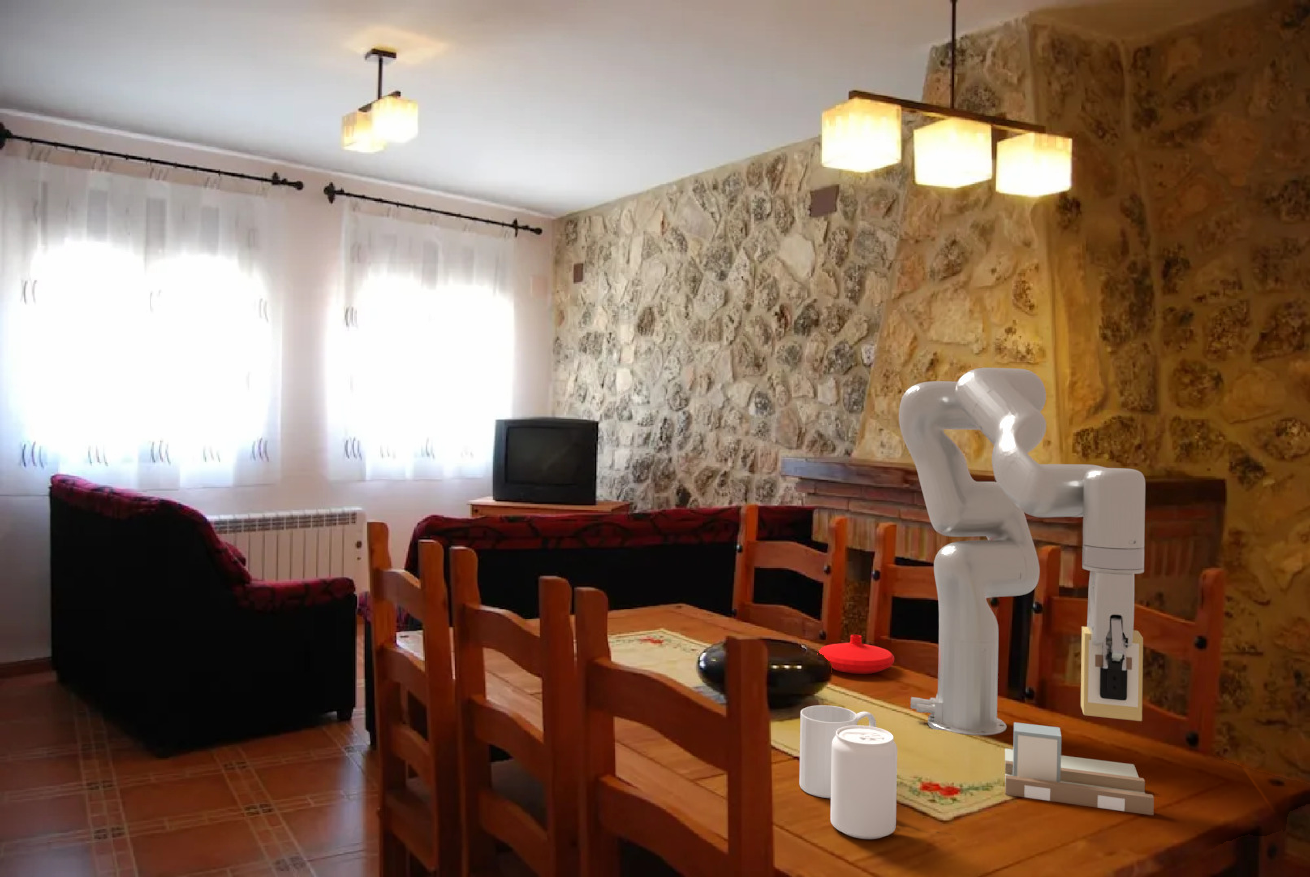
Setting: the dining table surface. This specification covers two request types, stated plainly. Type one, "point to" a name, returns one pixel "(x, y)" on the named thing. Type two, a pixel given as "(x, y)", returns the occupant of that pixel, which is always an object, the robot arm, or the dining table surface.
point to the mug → (822, 744)
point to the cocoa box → (1037, 752)
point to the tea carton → (1091, 680)
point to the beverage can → (863, 782)
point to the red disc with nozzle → (857, 656)
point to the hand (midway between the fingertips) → (1110, 691)
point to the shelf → (1085, 785)
